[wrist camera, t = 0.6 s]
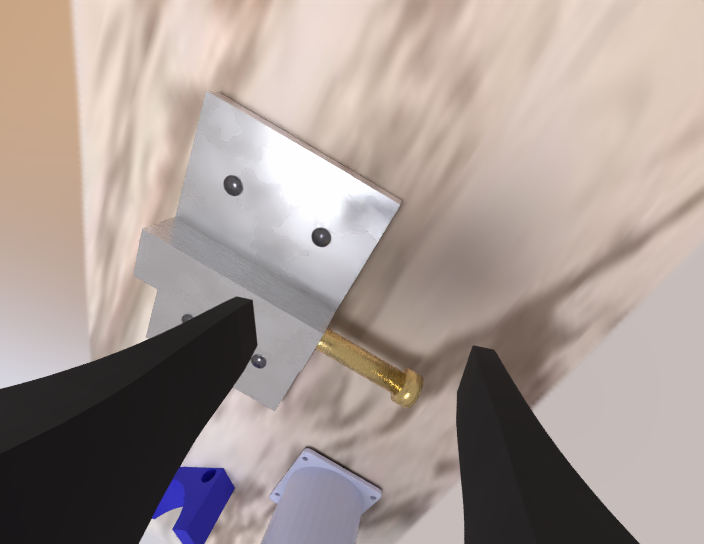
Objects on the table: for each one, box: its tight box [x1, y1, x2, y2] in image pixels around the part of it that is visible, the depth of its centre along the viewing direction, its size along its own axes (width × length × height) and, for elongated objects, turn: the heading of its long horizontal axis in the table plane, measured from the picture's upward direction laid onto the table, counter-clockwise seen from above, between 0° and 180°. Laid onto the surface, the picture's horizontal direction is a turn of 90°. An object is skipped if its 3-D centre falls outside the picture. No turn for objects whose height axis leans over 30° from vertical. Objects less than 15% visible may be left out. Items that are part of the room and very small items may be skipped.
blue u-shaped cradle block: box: [152, 467, 235, 544], centre depth 34 cm, size 12×4×6 cm, turn 106°
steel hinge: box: [133, 91, 402, 411], centre depth 21 cm, size 12×20×4 cm, turn 152°
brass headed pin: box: [315, 328, 423, 409], centre depth 21 cm, size 13×2×2 cm, turn 62°
